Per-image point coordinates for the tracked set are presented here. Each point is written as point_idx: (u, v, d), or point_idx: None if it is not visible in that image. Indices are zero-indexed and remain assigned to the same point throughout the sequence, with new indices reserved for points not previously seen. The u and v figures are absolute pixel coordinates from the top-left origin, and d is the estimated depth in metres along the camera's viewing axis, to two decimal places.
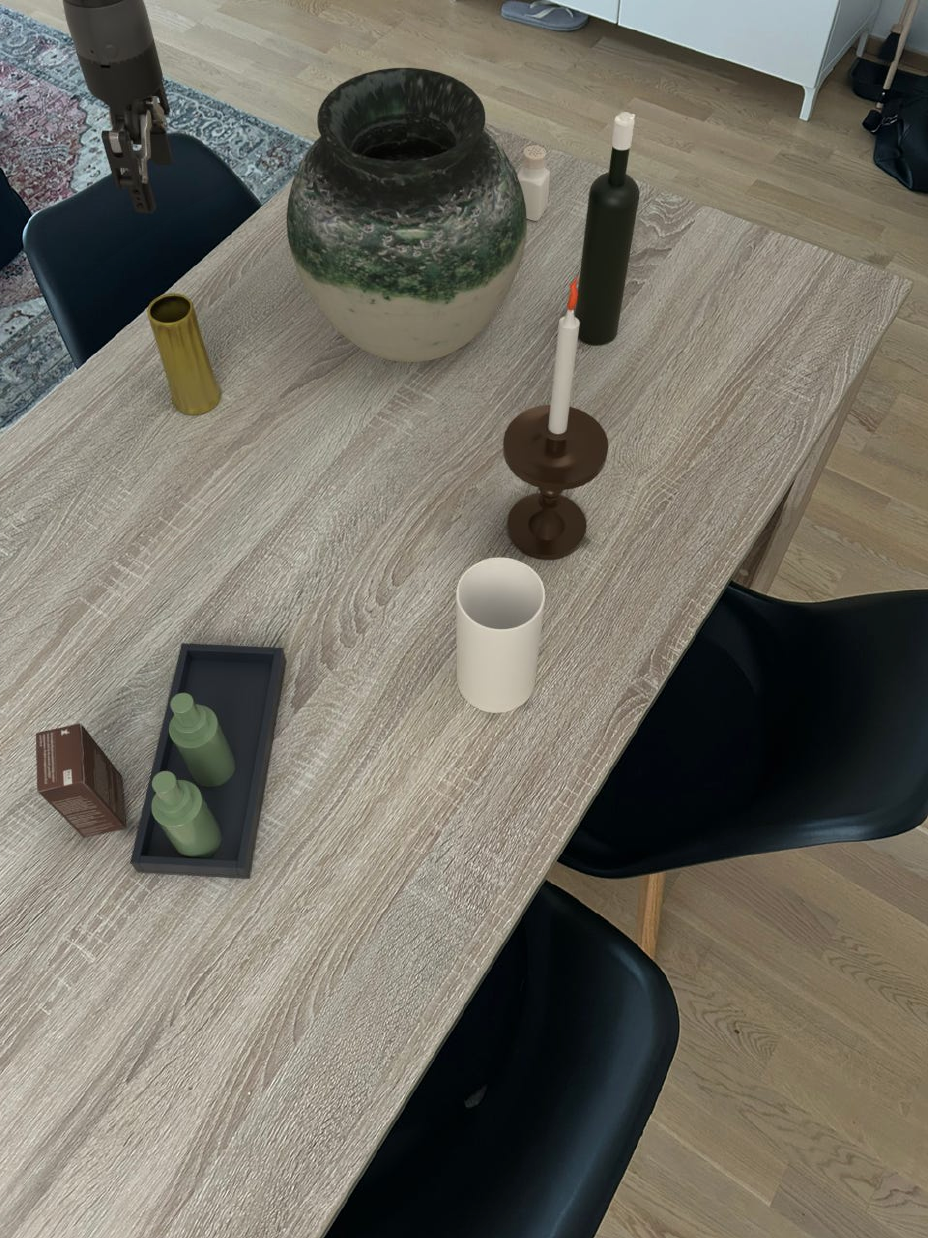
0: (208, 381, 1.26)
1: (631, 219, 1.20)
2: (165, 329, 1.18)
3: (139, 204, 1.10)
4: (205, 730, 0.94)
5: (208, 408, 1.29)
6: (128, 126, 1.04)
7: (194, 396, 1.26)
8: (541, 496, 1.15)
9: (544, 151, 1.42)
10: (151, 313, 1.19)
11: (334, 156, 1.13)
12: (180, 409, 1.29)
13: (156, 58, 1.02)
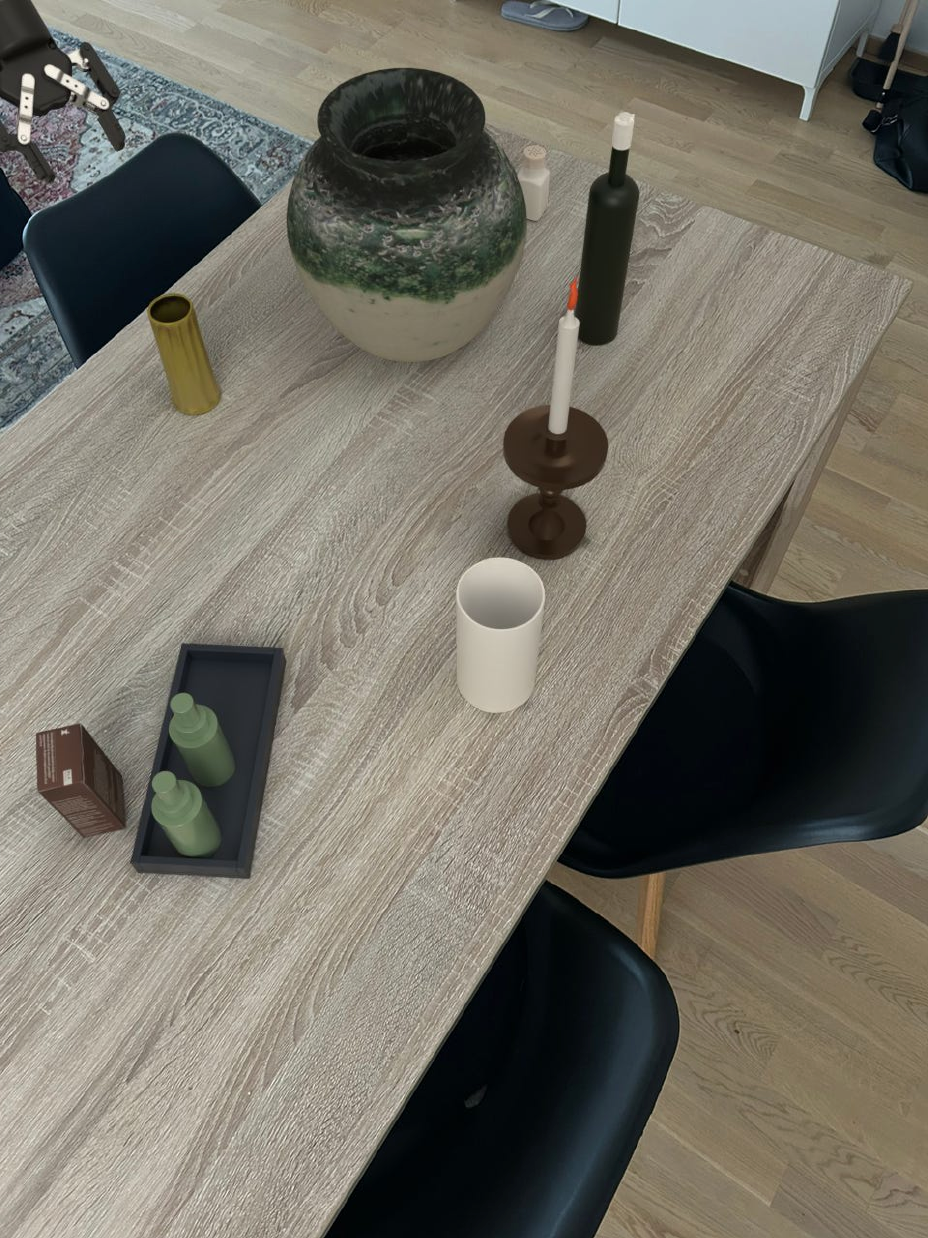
0: (208, 381, 1.26)
1: (631, 219, 1.20)
2: (165, 329, 1.18)
3: None
4: (205, 730, 0.94)
5: (208, 408, 1.29)
6: None
7: (194, 396, 1.26)
8: (541, 496, 1.15)
9: (544, 151, 1.42)
10: (151, 313, 1.19)
11: (334, 156, 1.13)
12: (180, 409, 1.29)
13: (11, 15, 1.04)
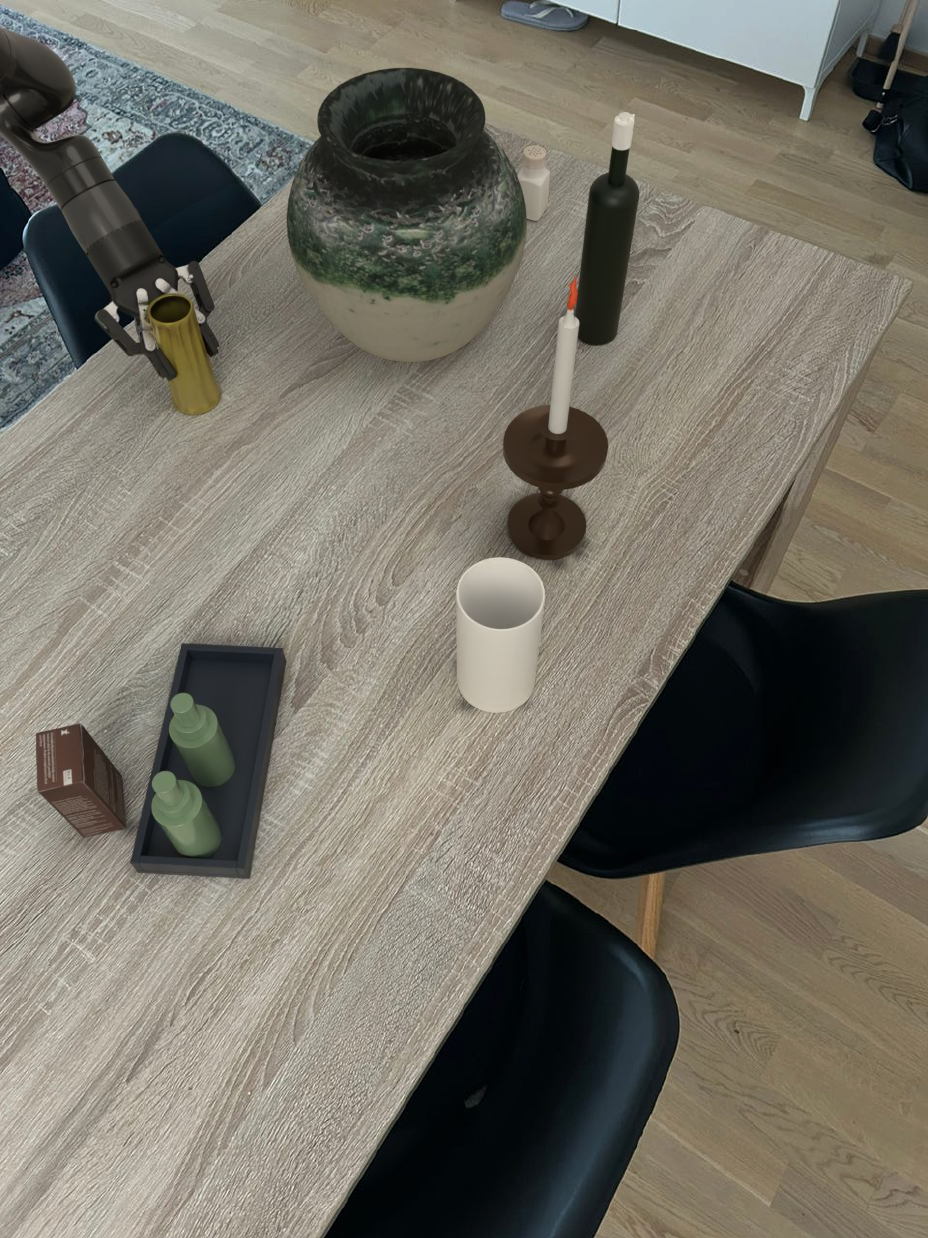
0: (208, 381, 1.26)
1: (631, 219, 1.20)
2: (165, 329, 1.18)
3: None
4: (205, 730, 0.94)
5: (208, 408, 1.29)
6: (116, 303, 1.19)
7: (194, 396, 1.26)
8: (541, 496, 1.15)
9: (544, 151, 1.42)
10: (151, 313, 1.19)
11: (334, 156, 1.13)
12: (180, 409, 1.29)
13: (128, 241, 1.16)
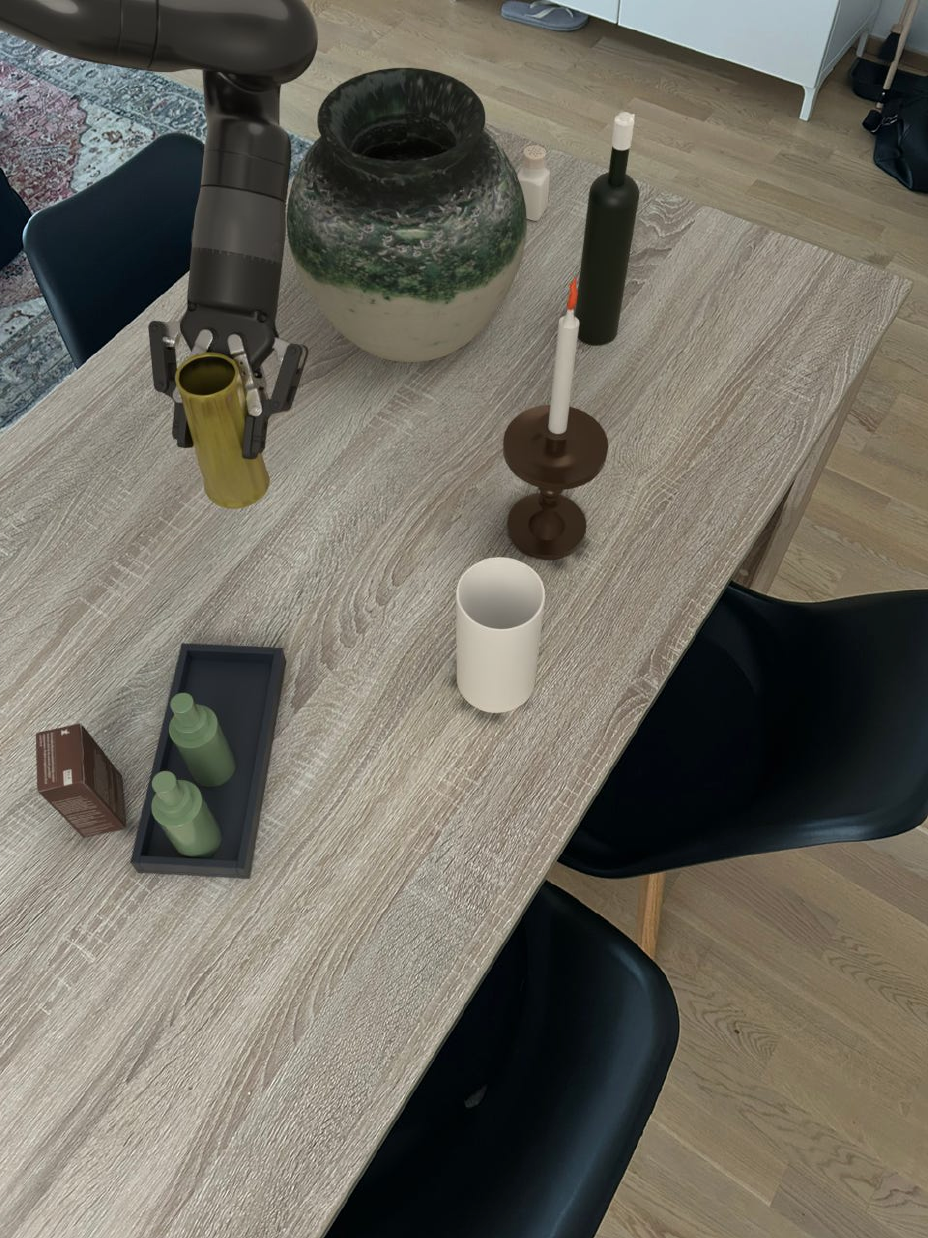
0: (230, 478, 0.93)
1: (631, 219, 1.20)
2: None
3: None
4: (205, 730, 0.94)
5: (223, 504, 0.96)
6: (180, 327, 0.89)
7: (209, 481, 0.94)
8: (541, 496, 1.15)
9: (544, 151, 1.42)
10: (195, 364, 0.88)
11: (334, 156, 1.13)
12: None
13: (219, 271, 0.84)
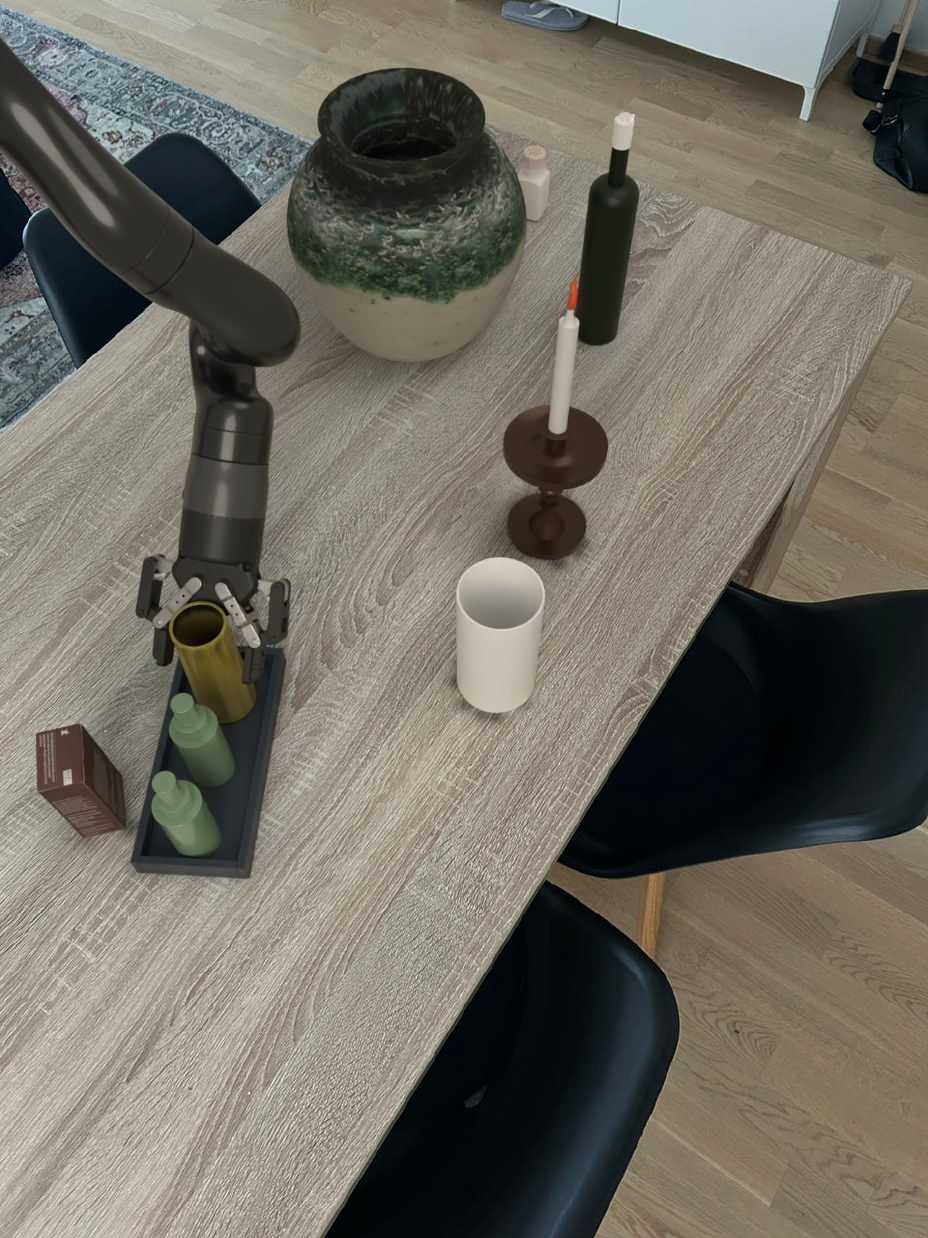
0: (220, 702, 1.02)
1: (631, 219, 1.20)
2: None
3: None
4: (205, 730, 0.94)
5: None
6: (171, 568, 0.97)
7: (200, 702, 1.03)
8: (541, 496, 1.15)
9: (544, 151, 1.42)
10: (188, 611, 0.96)
11: (334, 156, 1.13)
12: None
13: (207, 532, 0.93)
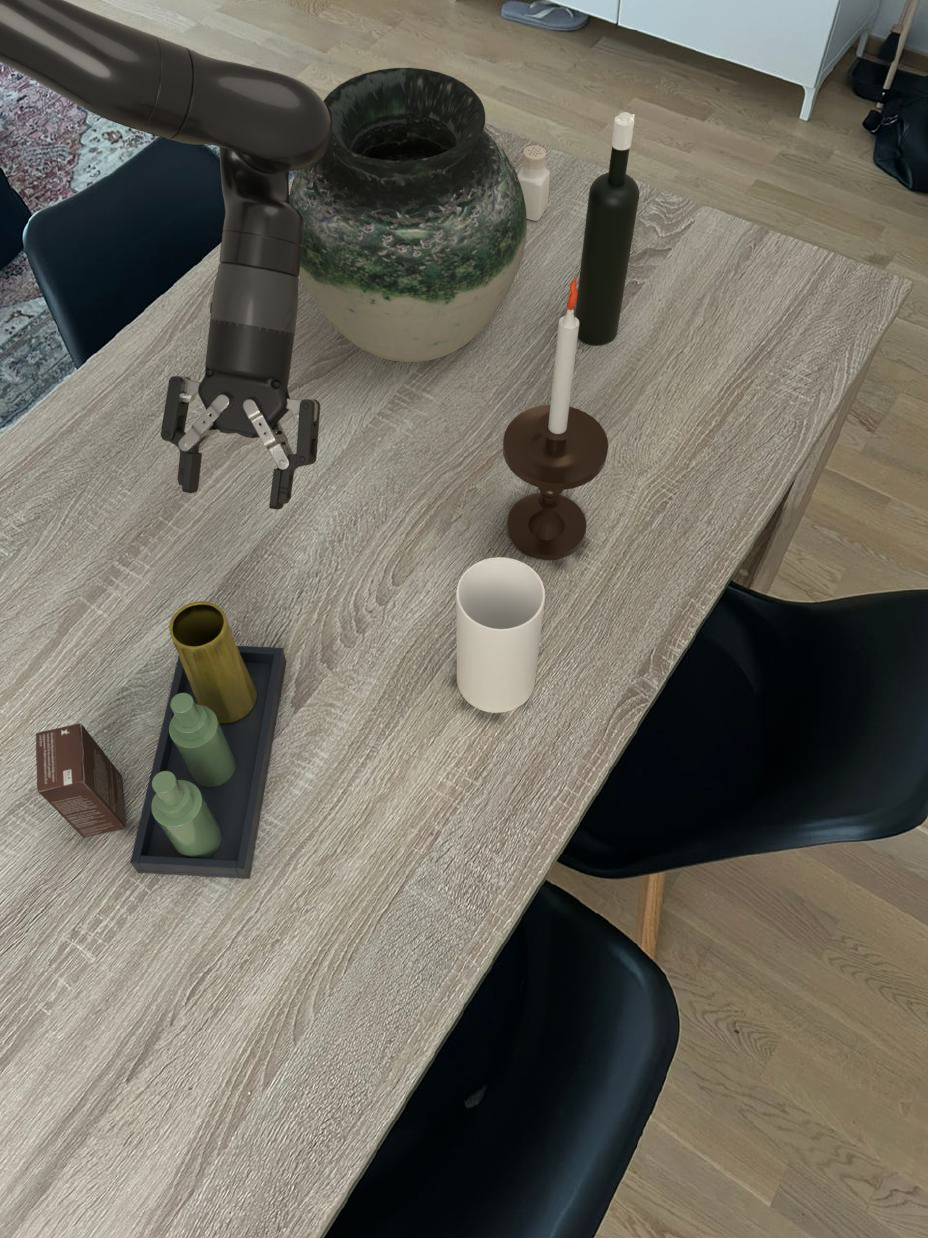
0: (220, 702, 1.02)
1: (631, 219, 1.20)
2: None
3: None
4: (205, 730, 0.94)
5: None
6: (198, 388, 0.95)
7: (200, 702, 1.03)
8: (541, 496, 1.15)
9: (544, 151, 1.42)
10: (188, 611, 0.96)
11: (334, 156, 1.13)
12: None
13: (236, 342, 0.90)
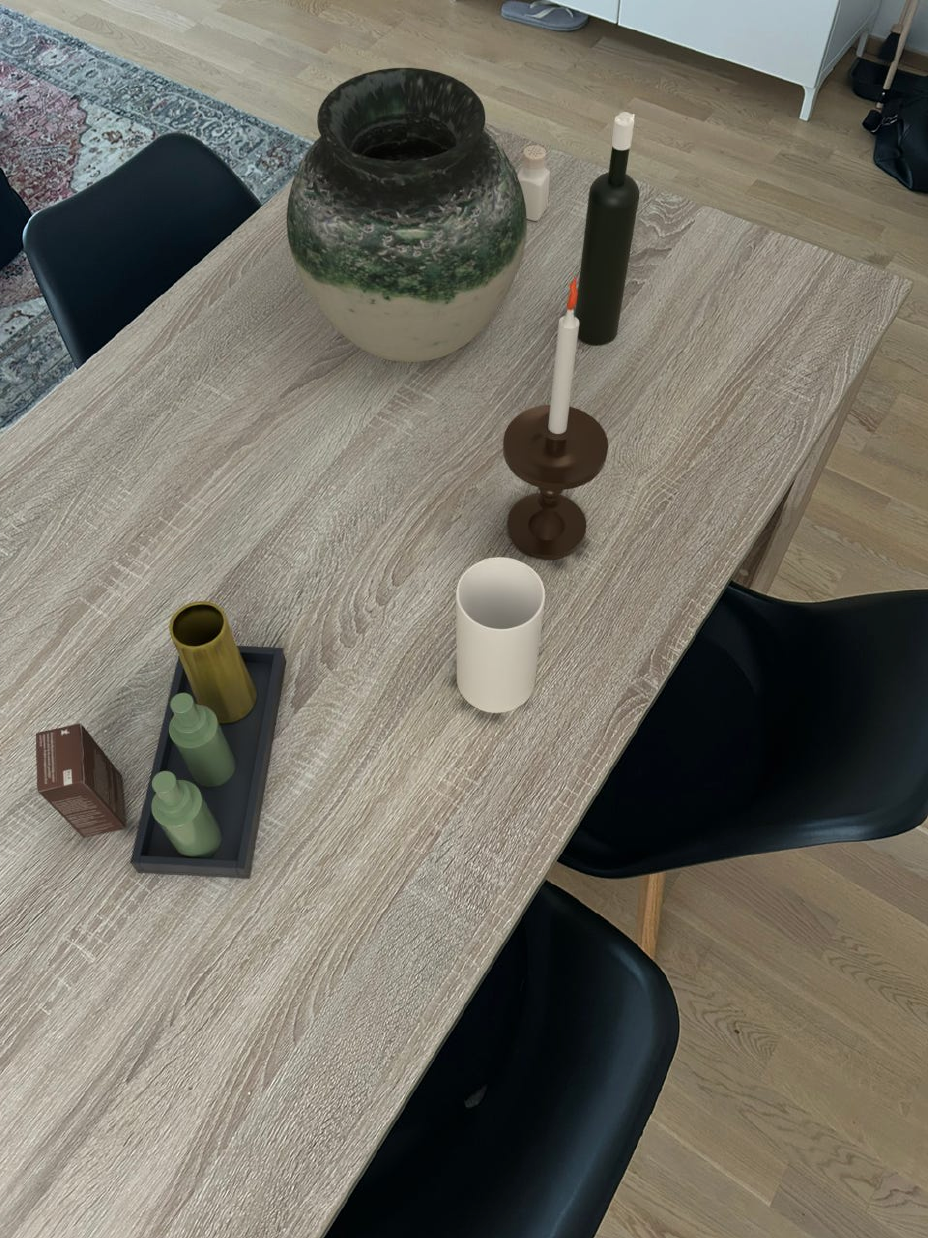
0: (220, 702, 1.02)
1: (631, 219, 1.20)
2: None
3: None
4: (205, 730, 0.94)
5: None
6: None
7: (200, 702, 1.03)
8: (541, 496, 1.15)
9: (544, 151, 1.42)
10: (188, 611, 0.96)
11: (334, 156, 1.13)
12: None
13: None
